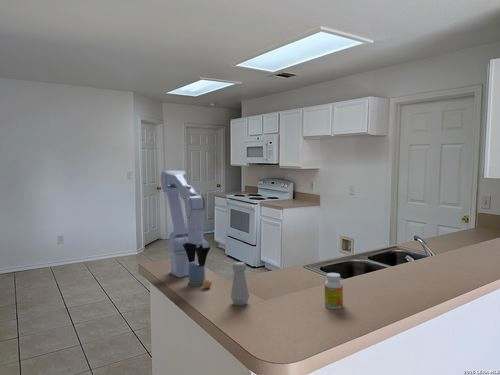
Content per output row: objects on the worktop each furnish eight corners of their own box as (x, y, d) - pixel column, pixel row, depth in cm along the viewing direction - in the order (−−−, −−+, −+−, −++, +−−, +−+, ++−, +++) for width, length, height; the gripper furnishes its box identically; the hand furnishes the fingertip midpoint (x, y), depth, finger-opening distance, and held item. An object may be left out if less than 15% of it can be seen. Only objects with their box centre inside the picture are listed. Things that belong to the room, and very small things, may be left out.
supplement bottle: (325, 309, 105) (325, 277, 105) (324, 302, 110) (323, 271, 110) (344, 309, 104) (343, 277, 104) (341, 302, 110) (341, 272, 109)
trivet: (184, 283, 133) (184, 282, 133) (200, 279, 138) (200, 278, 138) (193, 287, 128) (193, 286, 128) (210, 283, 132) (210, 282, 132)
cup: (186, 282, 133) (186, 264, 133) (200, 279, 137) (199, 261, 136) (194, 285, 129) (193, 267, 128) (208, 282, 132) (207, 264, 132)
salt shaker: (247, 307, 108) (246, 265, 107) (229, 306, 109) (227, 265, 109) (251, 300, 114) (249, 260, 113) (233, 299, 115) (232, 260, 114)
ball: (201, 287, 127) (200, 279, 127) (208, 285, 129) (208, 277, 129) (205, 290, 125) (205, 281, 125) (213, 288, 127) (213, 279, 127)
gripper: (176, 227, 135) (178, 261, 136) (195, 231, 123) (197, 269, 124) (193, 224, 139) (194, 258, 140) (212, 229, 128) (214, 266, 129)
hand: (196, 263), depth 132 cm, fingers open, 7 cm apart
